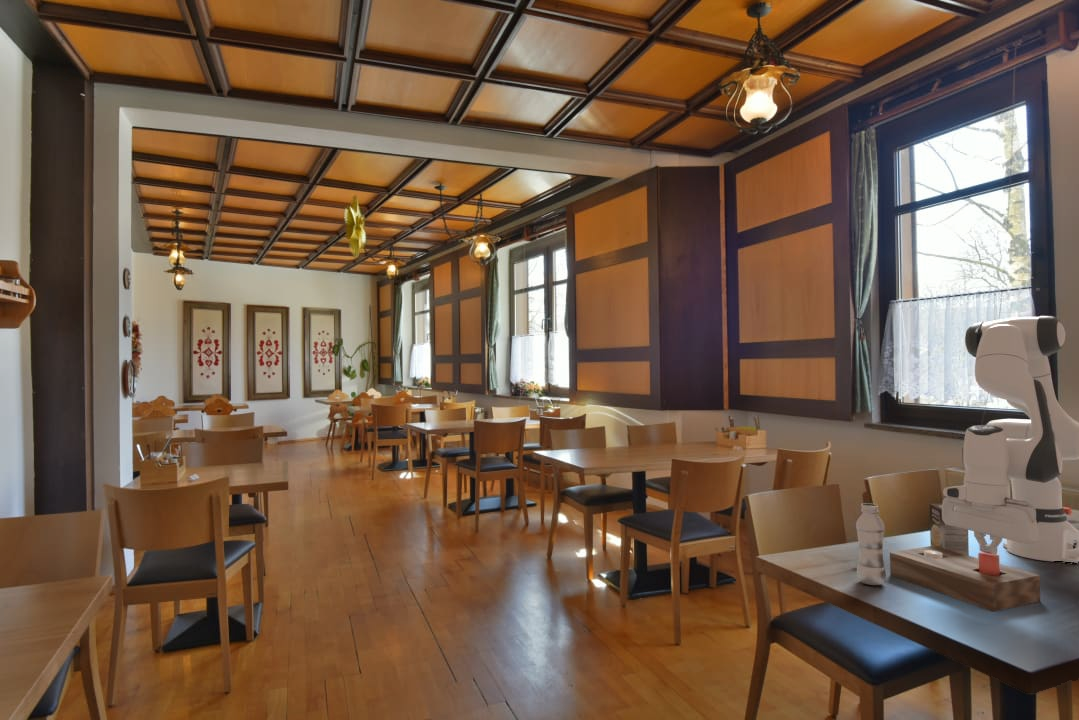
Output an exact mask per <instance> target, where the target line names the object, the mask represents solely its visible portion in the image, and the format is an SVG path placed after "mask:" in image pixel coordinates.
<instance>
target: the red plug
mask: <svg viewBox="0 0 1079 720" xmlns="http://www.w3.org/2000/svg"><path fill="white" fill-rule="evenodd" d="M977 556H978V557H977V558H978V559H979V572H980V573H983V574H987V575H990V576H998V575H1000V564H1001V563H1000V555H998V554H994V555H993V554H989V553H985V552H982V551H979V552H978V554H977Z"/></svg>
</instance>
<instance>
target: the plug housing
mask: <svg viewBox="0 0 1079 720" xmlns="http://www.w3.org/2000/svg"><path fill="white" fill-rule="evenodd" d="M925 550H933V551H938V552H941V553H942V558H939V559H933V558H930V557H927V556H924V551H925ZM889 574H890V576H891V577H894V578H897V579H899V580H902V581H906V582H908V583H910V584H915V585H918V586H919V587H923V588H925V589H929V590H931V591H934V592H937V593H940V594H942V595H945V596H948V597H951V598H952V599H953V598H955V599H957V600H959V601H963V602H966V603H968V604H970V605H974V606H977V607H978V608H979V607H980V608H981V609H986V610H988V611H991V612H997V611H998V612H999V611H1003V610H1007V609H1011V608H1016V607H1020V606H1021V607H1022V606H1026V605H1029V603H1031V604H1034V602H1035V603H1039V602H1038V601H1040V602H1041V575H1039V574H1035V573H1032V572H1029V571H1026V570H1022V569H1018V568H1014V567H1011V566H1008V565H1004V564H1001V563H1000V575H998V576H990V575H987V574H983V573H980V572H979V559H978V557H975V556H971V555H965V554H961V553H958V552H954V551H951V550H947V549H944V548H940V547H936V546H931V545H929V546H923V547H915V548H909V549H903V550H902V549H901V550H896V551H890V552H889ZM1025 604H1026V605H1025Z"/></svg>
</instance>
